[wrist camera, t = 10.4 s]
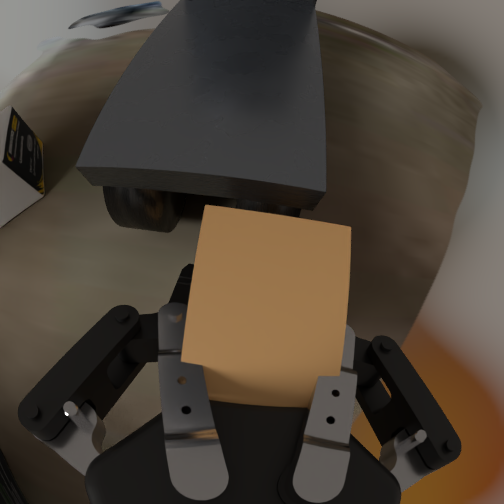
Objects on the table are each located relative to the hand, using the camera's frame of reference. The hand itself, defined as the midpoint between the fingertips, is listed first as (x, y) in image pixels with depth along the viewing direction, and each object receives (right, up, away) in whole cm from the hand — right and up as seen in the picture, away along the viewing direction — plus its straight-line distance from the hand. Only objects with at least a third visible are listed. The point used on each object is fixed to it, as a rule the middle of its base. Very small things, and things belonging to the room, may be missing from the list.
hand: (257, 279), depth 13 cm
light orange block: (0, -3, +4) cm, 5 cm away
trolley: (-2, +12, +8) cm, 14 cm away
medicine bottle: (-23, +8, +6) cm, 25 cm away
